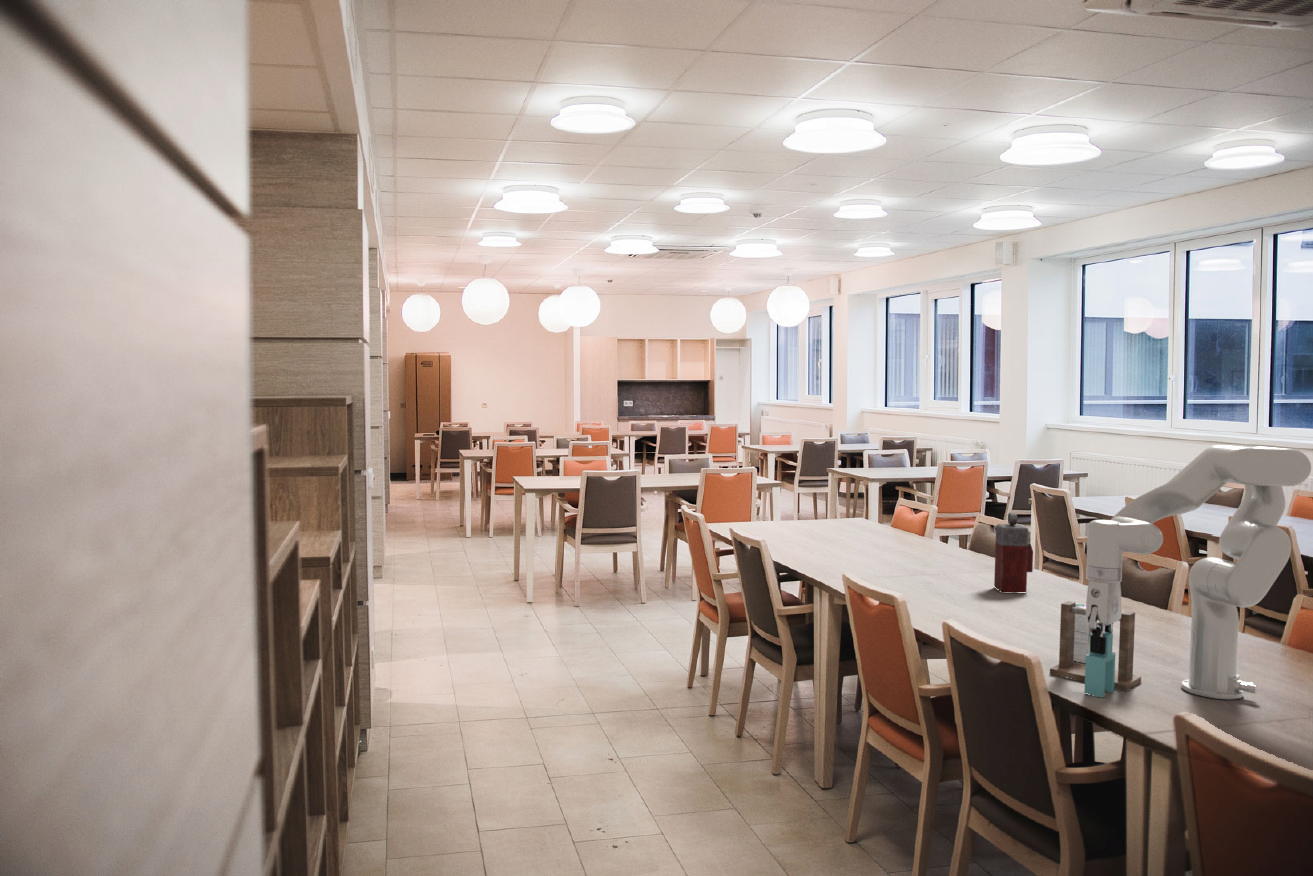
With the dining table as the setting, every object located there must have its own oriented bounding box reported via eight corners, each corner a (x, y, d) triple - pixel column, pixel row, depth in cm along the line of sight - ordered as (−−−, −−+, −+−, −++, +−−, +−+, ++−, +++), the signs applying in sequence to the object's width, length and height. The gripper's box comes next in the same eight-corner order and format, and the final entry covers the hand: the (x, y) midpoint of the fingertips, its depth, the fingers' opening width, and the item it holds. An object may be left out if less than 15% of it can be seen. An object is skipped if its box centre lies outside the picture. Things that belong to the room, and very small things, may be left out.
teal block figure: (1113, 691, 221) (1116, 631, 220) (1102, 698, 216) (1104, 637, 215) (1096, 687, 224) (1098, 628, 223) (1084, 694, 219) (1086, 633, 218)
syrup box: (1070, 655, 252) (1072, 602, 251) (1094, 660, 248) (1096, 605, 247) (1064, 660, 247) (1066, 605, 246) (1088, 664, 243) (1090, 609, 243)
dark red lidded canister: (1033, 594, 331) (1036, 514, 330) (1000, 592, 332) (1003, 513, 331) (1025, 588, 340) (1028, 511, 338) (993, 587, 341) (996, 510, 339)
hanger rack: (1140, 682, 228) (1143, 611, 228) (1126, 691, 221) (1129, 617, 221) (1065, 666, 241) (1068, 599, 240) (1049, 674, 234) (1052, 604, 233)
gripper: (1107, 580, 210) (1104, 661, 211) (1133, 571, 222) (1130, 648, 223) (1073, 575, 215) (1070, 655, 216) (1100, 567, 227) (1097, 642, 228)
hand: (1100, 650), depth 219 cm, fingers open, 3 cm apart
